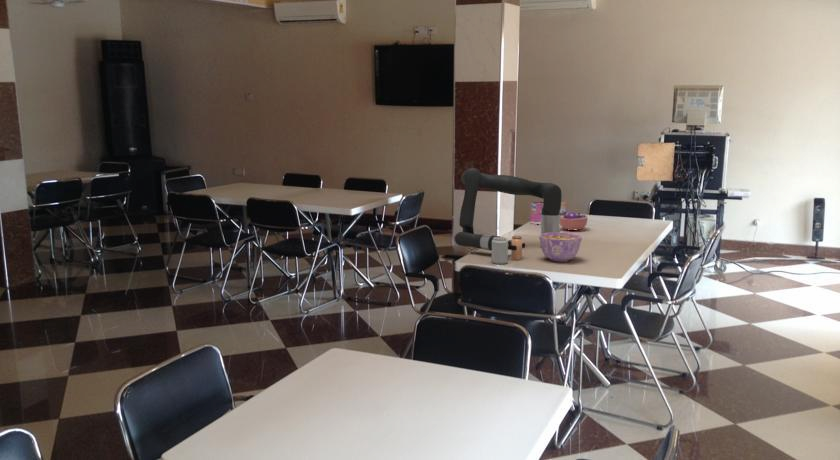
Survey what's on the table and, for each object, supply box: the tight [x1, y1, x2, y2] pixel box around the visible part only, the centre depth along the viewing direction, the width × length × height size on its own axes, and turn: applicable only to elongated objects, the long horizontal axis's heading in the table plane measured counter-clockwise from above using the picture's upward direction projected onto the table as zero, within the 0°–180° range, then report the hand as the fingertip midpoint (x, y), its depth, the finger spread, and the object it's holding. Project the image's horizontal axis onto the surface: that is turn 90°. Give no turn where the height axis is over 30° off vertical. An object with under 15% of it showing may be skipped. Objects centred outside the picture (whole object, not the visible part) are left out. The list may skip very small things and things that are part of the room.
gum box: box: [529, 200, 568, 223], centre depth 442 cm, size 24×8×14 cm, turn 112°
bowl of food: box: [538, 232, 583, 263], centre depth 332 cm, size 20×20×12 cm
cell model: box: [559, 211, 588, 231], centre depth 416 cm, size 17×20×11 cm
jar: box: [510, 235, 523, 261], centre depth 334 cm, size 5×5×11 cm
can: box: [491, 236, 509, 265], centre depth 325 cm, size 8×8×12 cm
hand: (520, 246), depth 332 cm, fingers open, 7 cm apart
